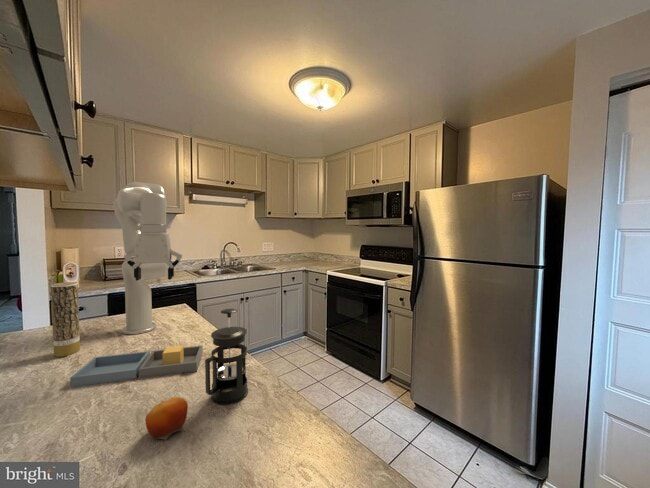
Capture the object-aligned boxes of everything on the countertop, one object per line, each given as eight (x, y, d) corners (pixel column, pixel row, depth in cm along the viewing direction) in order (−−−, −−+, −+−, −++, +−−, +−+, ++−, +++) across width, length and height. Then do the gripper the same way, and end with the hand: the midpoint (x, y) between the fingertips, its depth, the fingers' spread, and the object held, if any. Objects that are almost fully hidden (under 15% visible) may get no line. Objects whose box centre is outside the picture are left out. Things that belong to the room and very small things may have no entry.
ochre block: (167, 361, 91) (166, 346, 90) (183, 359, 92) (183, 345, 92) (162, 368, 86) (162, 353, 86) (180, 366, 87) (180, 351, 87)
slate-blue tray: (94, 366, 88) (94, 356, 88) (150, 359, 93) (149, 351, 93) (70, 388, 76) (70, 377, 76) (135, 379, 80) (135, 369, 80)
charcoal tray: (152, 359, 93) (152, 350, 93) (202, 353, 97) (202, 345, 97) (138, 379, 81) (138, 369, 80) (196, 371, 85) (196, 362, 85)
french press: (236, 379, 81) (236, 302, 80) (257, 391, 75) (256, 308, 74) (197, 399, 71) (196, 312, 70) (217, 413, 66) (216, 319, 65)
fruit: (163, 447, 54) (151, 406, 55) (146, 452, 57) (136, 414, 59) (201, 423, 60) (189, 387, 62) (183, 429, 64) (173, 395, 66)
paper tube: (85, 349, 100) (82, 282, 99) (65, 358, 93) (63, 285, 92) (68, 348, 101) (65, 281, 100) (48, 357, 94) (45, 285, 93)
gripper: (119, 229, 87) (120, 282, 88) (179, 230, 92) (180, 280, 93) (128, 228, 94) (129, 278, 95) (184, 230, 99) (184, 276, 101)
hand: (154, 279), depth 94 cm, fingers open, 9 cm apart
